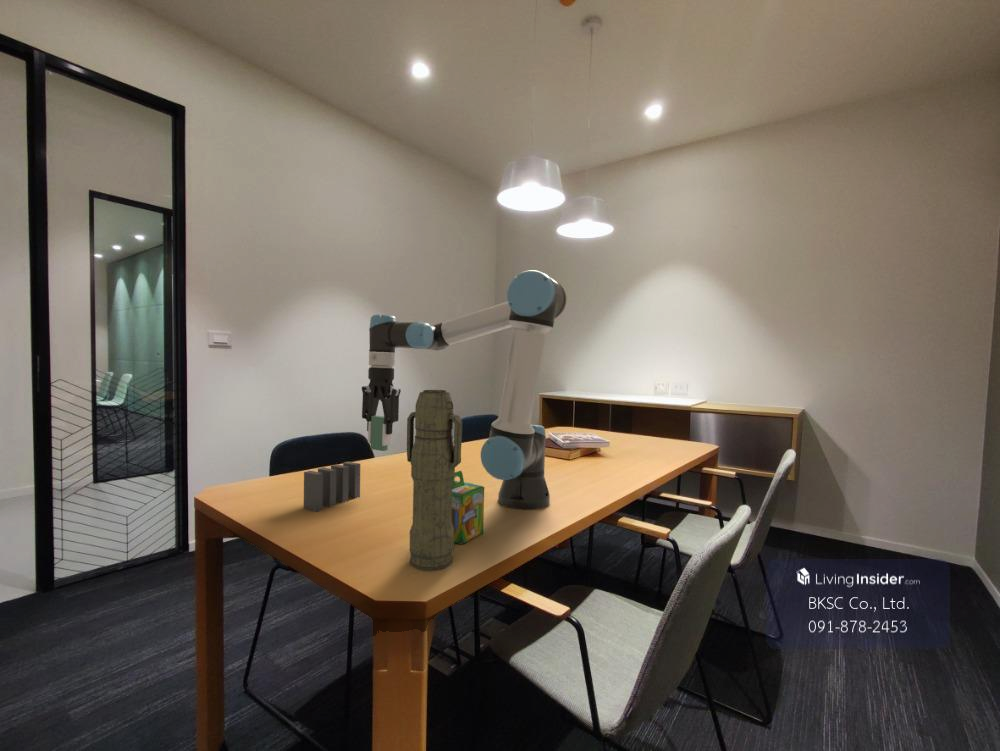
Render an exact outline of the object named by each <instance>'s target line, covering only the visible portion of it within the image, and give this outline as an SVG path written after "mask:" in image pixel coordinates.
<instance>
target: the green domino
mask: <svg viewBox="0 0 1000 751" xmlns="http://www.w3.org/2000/svg"><path fill="white" fill-rule="evenodd" d="M383 422H385V419H384V415H383V416H382V415H376V416H372V417H371V443H370V450H373V451H374V450H375V451H379V452H380V451H381V452H387V451H388V449H389V448H388V446H389V445H385V446H382V434H383V424H384V423H383Z"/></svg>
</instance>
